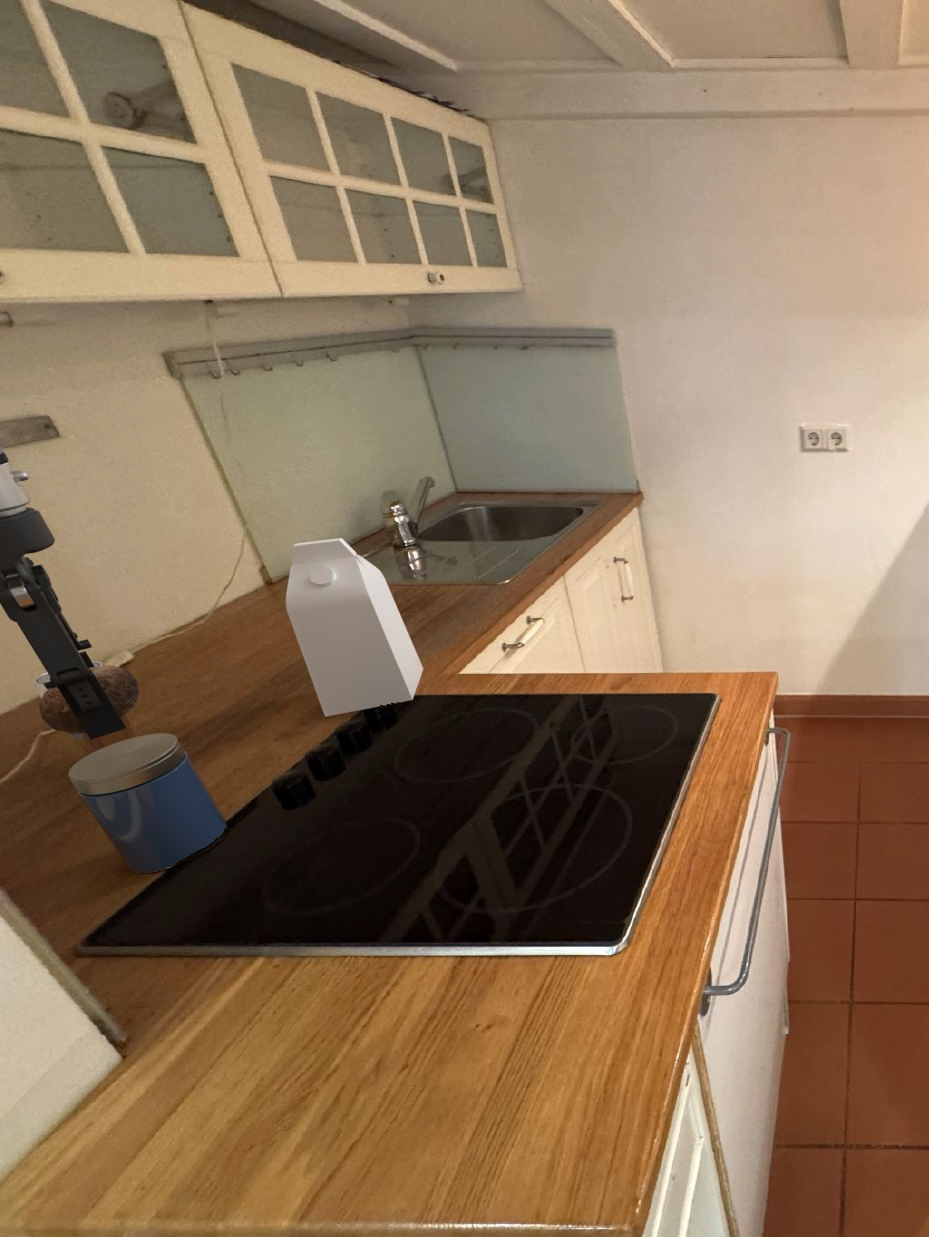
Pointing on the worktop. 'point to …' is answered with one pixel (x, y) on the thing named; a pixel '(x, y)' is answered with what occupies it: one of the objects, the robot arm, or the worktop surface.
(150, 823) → the jar
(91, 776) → the jar lid
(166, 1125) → the worktop surface
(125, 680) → the brown potato
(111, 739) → the shiny silver metal cup
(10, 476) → the robot arm
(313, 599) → the milk
